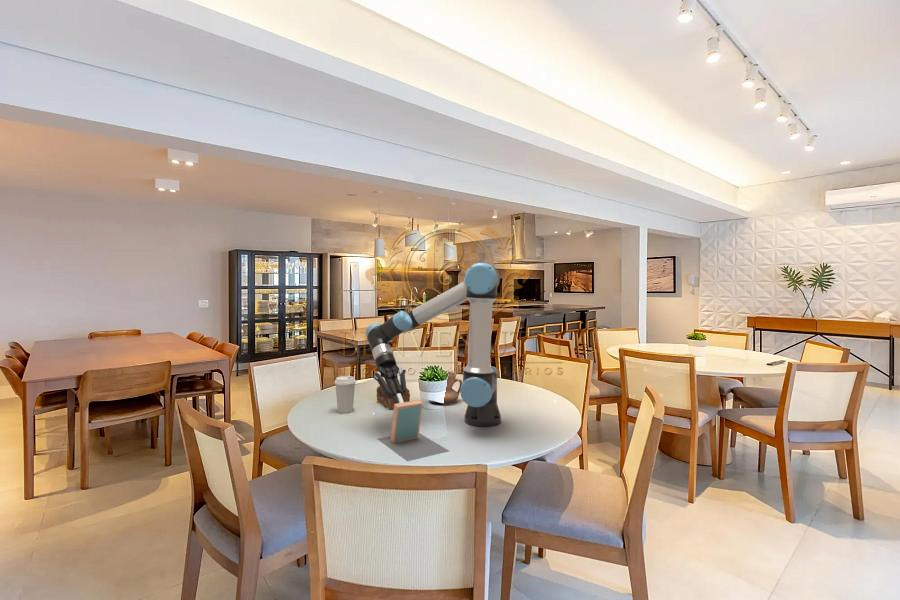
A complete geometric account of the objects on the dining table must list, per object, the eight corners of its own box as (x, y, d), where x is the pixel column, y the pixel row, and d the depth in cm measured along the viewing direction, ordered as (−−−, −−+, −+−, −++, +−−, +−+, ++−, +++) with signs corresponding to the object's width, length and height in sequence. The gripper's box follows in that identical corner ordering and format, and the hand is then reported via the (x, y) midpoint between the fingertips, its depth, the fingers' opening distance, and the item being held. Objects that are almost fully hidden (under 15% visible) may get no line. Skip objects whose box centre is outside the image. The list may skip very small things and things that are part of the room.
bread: (410, 408, 199) (410, 386, 199) (388, 411, 194) (388, 388, 194) (396, 398, 215) (396, 378, 215) (375, 401, 210) (375, 381, 210)
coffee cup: (350, 414, 187) (350, 380, 187) (330, 413, 189) (330, 379, 189) (359, 408, 196) (359, 376, 196) (340, 407, 198) (340, 375, 198)
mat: (376, 439, 156) (376, 438, 156) (415, 432, 165) (415, 431, 165) (407, 462, 136) (407, 461, 136) (449, 452, 145) (449, 451, 145)
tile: (390, 439, 154) (394, 403, 151) (415, 434, 159) (419, 400, 156) (393, 443, 152) (397, 407, 149) (418, 438, 157) (422, 403, 154)
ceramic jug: (427, 407, 200) (428, 376, 200) (424, 399, 215) (424, 370, 214) (465, 405, 203) (466, 375, 203) (459, 397, 218) (459, 369, 217)
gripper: (396, 362, 174) (415, 413, 161) (365, 365, 167) (383, 419, 154) (402, 351, 170) (422, 402, 156) (371, 353, 163) (389, 408, 149)
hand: (403, 410), depth 155 cm, fingers closed
